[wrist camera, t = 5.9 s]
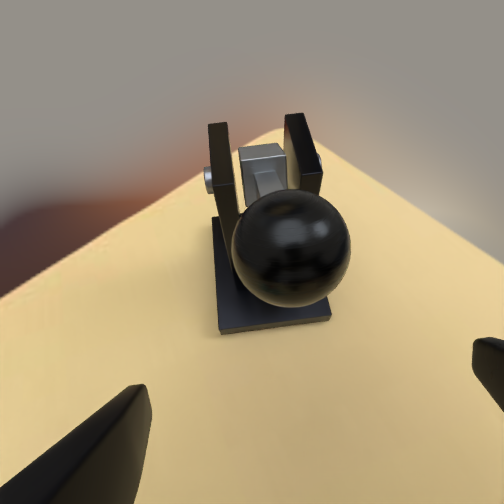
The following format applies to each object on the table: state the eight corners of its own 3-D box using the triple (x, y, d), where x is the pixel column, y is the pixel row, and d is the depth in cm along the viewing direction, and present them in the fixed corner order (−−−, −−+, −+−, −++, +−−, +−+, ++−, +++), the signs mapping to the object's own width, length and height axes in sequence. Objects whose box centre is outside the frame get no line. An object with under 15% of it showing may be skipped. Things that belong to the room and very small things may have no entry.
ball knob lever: (365, 324, 9) (378, 209, 7) (241, 341, 9) (222, 229, 7) (292, 192, 19) (290, 129, 17) (232, 200, 19) (223, 137, 17)
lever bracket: (329, 320, 23) (377, 217, 12) (221, 334, 23) (177, 243, 12) (302, 213, 28) (320, 78, 18) (213, 225, 28) (178, 95, 18)
